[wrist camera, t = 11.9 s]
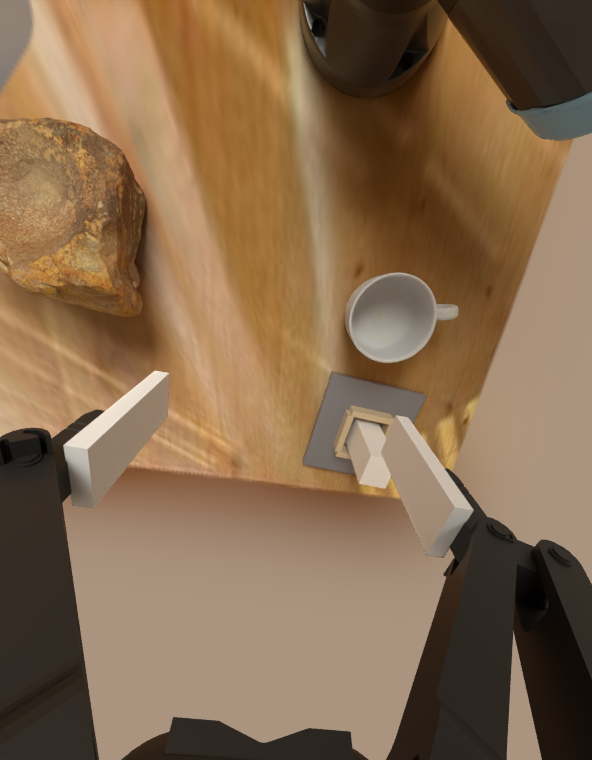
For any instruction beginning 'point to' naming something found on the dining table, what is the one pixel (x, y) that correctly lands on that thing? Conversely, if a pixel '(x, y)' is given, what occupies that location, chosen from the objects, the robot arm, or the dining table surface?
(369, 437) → the plug
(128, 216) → the rough brown rock
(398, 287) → the teacup
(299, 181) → the dining table surface
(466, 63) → the dining table surface
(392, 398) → the socket plate
